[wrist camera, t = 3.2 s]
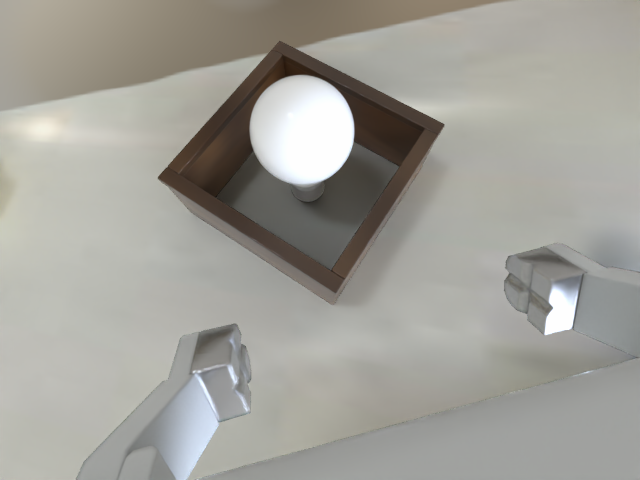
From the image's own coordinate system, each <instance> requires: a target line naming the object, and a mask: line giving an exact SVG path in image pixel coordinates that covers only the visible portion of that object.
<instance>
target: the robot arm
mask: <svg viewBox="0 0 640 480" xmlns="http://www.w3.org/2000/svg"><path fill="white" fill-rule="evenodd" d="M505 268H506V270H507V271H508V272H509V273H510V274H509V275H508V277H507V278H506V279H505V281H504V291H505V294H506V297H507V299H508V301H509V302H510V304H511V305H512V306H513V307H514V308H515V309H516V310H517V311H520V312H523V313H526V314H527V320H528V321H529V322H530V323H531V324H532V325H533V326H535V327H536V328H537V329H538V330H539V331H540V332H541V333H542V334H543V335H547V334H551V333H556V332H560V331H564V330H568V329H573V330H575V331H577V332H579V333H582V334H584V335H586V336H589V337H591V338H593V339H596V340H598V341H600V342H603V343H605V344H607V345H610V346H612V347H614V348H616V349H619V350H621V351H623V352H626V353H628V354H630V355H633V356H635V357H637V358H635V359H632V360H628V361H625V362H621V363H617V364H614V365H610V366H606V367H603V368H599V369H596V370H592V371H588V372H585V373H581V374H577V375H574V376H570V377H566V378H563V379H559V380H555V381H552V382H548V383H544V384H541V385H537V386H533V387H530V388H526V389H522V390H519V391H515V392H511V393H508V394H504V395H500V396H497V397H493V398H490V399H486V400H482V401H479V402H475V403H471V404H468V405H464V406H461V407H457V408H453V409H450V410H446V411H442V412H439V413H435V414H431V415H428V416H424V417H421V418H417V419H413V420H410V421H406V422H402V423H399V424H395V425H392V426H388V427H384V428H381V429H377V430H373V431H370V432H366V433H362V434H359V435H355V436H352V437H348V438H344V439H341V440H337V441H333V442H330V443H326V444H322V445H319V446H315V447H312V448H308V449H304V450H301V451H297V452H293V453H290V454H286V455H282V456H279V457H275V458H272V459H268V460H264V461H261V462H257V463H253V464H250V465H246V466H242V467H239V468H235V469H232V470H228V471H224V472H221V473H217V474H213V475H210V476H206V477H202V478H199V479H195V480H640V272H636V271H631V270H626V269H621V268H616V267H609V268H606V267H604V266H602V265H600V264H599V263H597V262H595V261H593V260H591V259H590V258H588V257H586V256H584V255H582V254H580V253H579V252H577V251H575V250H573V249H571V248H570V247H568V246H566V245H564V244H561V243H554V244H551V245H547V246H543V247H541V248H538V249H534V250H530V251H526V252H522V253H519V254H515V255H511V256H508V258H507V260H506V267H505ZM250 380H251V365H250V359H249V355H248V352H247V349H246V346H244V345H243V344H241V332H240V330H239V328H238V325H237V324H231V325H226V326H222V327H217V328H213V329H209V330H204V331H201V332H196V333H192V334H188V335H183V336H182V337H181V338H180V340H179V344H178V347H177V351H176V354H175V357H174V361H173V364H172V368H171V371H170V374H169V378H168V380H166V381H162V382H161V383H160V384H159V385H158V386H157V387H156V388H155V389H154V390H153V391H152V393H151V394H150V395H149V396H148V397H147V398H146V399H145V400H144V401H143V402H142V403H141V404H140V405H139V406H138V407H137V408H136V409H135V410H134V411H133V412H132V413H131V414H130V415H129V416H128V417H127V418H126V419H125V420H124V421H123V422H122V423H121V424H120V425H119V426H118V427H117V428H116V429H115V430H114V431H113V432H112V433H111V434H110V435H109V436H108V437H107V438H106V439H105V440H104V441H103V442H102V443H101V444H100V446H99V447H98V448H97V449H96V450H95V451H94V452H93V453H92V454H91V455H90V456H89V457H88V458H87V459H86V460H85V461H84V462H83V465H82V467H81V469H80V471H79V473H78V476H77V478H76V480H187V478H188V476H189V475H190V473H191V471H192V470H193V468H194V466H195V465H196V463H197V461H198V459H199V458H200V456H201V454H202V453H203V451H204V449H205V448H206V446H207V444H208V442H209V441H210V439H211V437H212V436H213V434H214V432H215V430H216V429H217V427H218V425H219V422H222V421H225V420H229V419H232V418H236V417H239V416H242V415H246V414H249V413H250V410H251V391H250V388H249V386H248V383H249V382H250Z"/></svg>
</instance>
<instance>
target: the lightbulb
mask: <svg viewBox="0 0 640 480" xmlns="http://www.w3.org/2000/svg"><path fill="white" fill-rule="evenodd" d="M249 133H250V141H251V145H252V148H253V151H254V153H255V155H256V157H257V159H258V160H259V162H260V163H261V165H262V166H263V167H264V168H265V169H266V170H267V171H268V172H269V173H270V174H272V175H273V176H274V177H276V178H278V179H280V180H282V181H284V182H287V183H290V185H291V190H292V193H293V195H294V196H295V197H296V198H297V199H299V200H301V201H306V202H309V201H314V200H316V199H318V198H319V197H320V196H321V195H322V193H323V191H324V180H326V179H328V178H329V177H331V176H332V175H334V174H335V173H336V172H337V171H338V170H339V169H340V168H341V167H342V166H343V164H344V163H345V162H346V160H347V158H348V156H349V154H350V152H351V149H352V146H353V142H354V134H355V128H354V120H353V116H352V112H351V110H350V107H349V105H348V103H347V101H346V100H345V98H344V97H343V95H342V94H341V93H340V92H339V91H338V90H337V89H336V88H335V87H334V86H332V85H331V84H330V83H328V82H326V81H324V80H322V79H320V78H317V77H314V76H309V75H293V76H288V77H285V78H282V79H280V80H278V81H276V82H274V83H273V84H272V85H270V86H269V87H268V88H267V89H266V90H265V91H264V92H263V93H262V94H261V95H260V97H259V98H258V100H257V101H256V103H255V105H254V108H253V110H252V113H251V118H250V125H249Z"/></svg>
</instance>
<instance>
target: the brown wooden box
mask: <svg viewBox="0 0 640 480" xmlns="http://www.w3.org/2000/svg"><path fill="white" fill-rule="evenodd" d="M293 75H309V76H314V77H317V78H320V79H322V80H324V81H326V82H328V83H330V84H331V85H332V86H334V87H335V88H336V89H337V90H338V91H339V92H340V93H341V94H342V95H343V97H344V98H345V100H346V101H347V103H348V105H349V107H350V110H351V112H352V116H353V120H354V128H355V134H354V141H355V142H357V143H358V144H360V145H362V146H364V147H366V148H367V149H369V150H371V151H373V152H375V153H377V154H378V155H380V156H382V157H384V158H386V159H388V160H389V161H391V162H393V163H395V164H397V165H399V166H400V167H399V168H398V170H397V172H396V173H395V175H394V176H393V178H392V179H391V181H390V182H389V184H388V185H387V187H386V188H385V190H384V191H383V193H382V194H381V196H380V197H379V199H378V200H377V202H376V203H375V205H374V206H373V208H372V209H371V211H370V212H369V214H368V215H367V217H366V218H365V220H364V221H363V223H362V224H361V226H360V227H359V229H358V230H357V232H356V233H355V235H354V236H353V238H352V239H351V241H350V242H349V244H348V245H347V247H346V248H345V250H344V251H343V253H342V255H341V256H340V258H339V259H338V261H337V262H336V264H335V265H334V267H333V268H332V270H329V269H327V268H326V267H324V266H323V265H321V264H320V263H318V262H316V261H315V260H313V259H312V258H310V257H309V256H307V255H305V254H304V253H302V252H301V251H299V250H298V249H296V248H294V247H293V246H291V245H290V244H288V243H286V242H285V241H283V240H282V239H280V238H279V237H277V236H275V235H274V234H272V233H271V232H269V231H268V230H266V229H264V228H263V227H261V226H260V225H258V224H257V223H255V222H253V221H252V220H250V219H249V218H247V217H245V216H244V215H242V214H241V213H239V212H238V211H236V210H234V209H233V208H231V207H230V206H228V205H227V204H225V203H223V202H222V201H220V200H219V199H217V198H216V196H217V195H218V193H219V192H220V191H221V190H222V188H223V187H224V186H225V185H226V184H227V182H228V181H229V180H230V179H231V177H232V176H233V175H234V174H235V173H236V171H237V170H238V169H239V168H240V167H241V165H242V164H243V163H244V162H245V160H246V159H247V158H248V157H249V156H250V154H251V153H252V152H253V148H252V145H251V141H250V133H249V125H250V118H251V113H252V110H253V108H254V105H255V103H256V101H257V100H258V98H259V97H260V95H261V94H262V93H263V92H264V91H265V90H266V89H267V88H268V87H269V86H270V85H272V84H273V83H274V82H276V81H278V80H280V79H282V78H285V77H288V76H293ZM443 127H444V124H443V123H441V122H439V121H437V120H435V119H433V118H431V117H429V116H427V115H425V114H423V113H421V112H419V111H417V110H415V109H413V108H411V107H409V106H407V105H405V104H403V103H401V102H399V101H397V100H395V99H394V98H392V97H390V96H388V95H386V94H384V93H382V92H380V91H378V90H376V89H374V88H372V87H370V86H368V85H366V84H364V83H362V82H360V81H358V80H356V79H354V78H352V77H350V76H348V75H346V74H344V73H342V72H340V71H338V70H336V69H334V68H332V67H330V66H328V65H327V64H325V63H323V62H321V61H319V60H317V59H315V58H313V57H311V56H309V55H307V54H305V53H303V52H301V51H299V50H297V49H295V48H293V47H291V46H289V45H287V44H285V43H283V42H281V41H279V42H278V43H277V45H276V46H275V47H274V48H273V50H271V51H270V52H269V53H268V55H267V56H266V57H265V58H264V59H263V60H262V61H261V62H260V64H259V65H258V66H257V67H256V68H255V69H254V70H253V71H252V73H251V74H250V75H249V76H248V77H247V78H246V79H245V80H244V81H243V83H242V84H241V85H240V86H239V87H238V88H237V89H236V90H235V92H234V93H233V94H232V95H231V96H230V97H229V98H228V99H227V100H226V102H225V103H224V104H223V105H222V106H221V107H220V108H219V109H218V111H217V112H216V113H215V114H214V115H213V116H212V117H211V118H210V119H209V121H208V122H207V123H206V124H205V125H204V126H203V127H202V128H201V130H200V131H199V132H198V133H197V134H196V135H195V136H194V137H193V139H192V140H191V141H190V142H189V143H188V144H187V145H186V146H185V147H184V149H183V150H182V151H181V152H180V153H179V154H178V155H177V156H176V158H175V159H174V160H173V161H172V162H171V163H170V164H169V165H168V167H167V168H166V169H165V170H164V171H163V172H162V173H161V174H160V175H159V177H158V179H159V180H160V181H161V182H162V183H163V184H165V185H166V186H168V187H169V188H170V190H171V191H172V192H173V193H174V194H175V195H176V196H177V197H178V198H179V199H180V201H181V202H182V203H183V204H184V205H185V206H186V207H187V208H188V209H189V210H190V211H191V213H193V214H194V215H196V216H197V217H199V218H200V219H202V220H203V221H205V222H207V223H208V224H210V225H211V226H213V227H214V228H216V229H217V230H219V231H220V232H222V233H223V234H225V235H226V236H228V237H229V238H231V239H232V240H234V241H236V242H237V243H239V244H240V245H242V246H243V247H245V248H246V249H248V250H249V251H251V252H252V253H254V254H255V255H257V256H258V257H260V258H261V259H263V260H265V261H266V262H268V263H269V264H271V265H272V266H274V267H275V268H277V269H278V270H280V271H281V272H283V273H284V274H286V275H287V276H289V277H291V278H292V279H294V280H295V281H297V282H298V283H300V284H301V285H303V286H304V287H306V288H307V289H309V290H310V291H312V292H313V293H315V294H316V295H318V296H320V297H321V298H323V299H324V300H326V301H327V302H329V303H330V304H332V305H334V303H335V302H336V300H337V299H338V297H339V296H340V294H341V292H342V291H343V289H344V288H345V286H346V285H347V283H348V282H349V280H350V278H351V277H352V275H353V274H354V272H355V271H356V269H357V268H358V266H359V264H360V263H361V261H362V260H363V258H364V257H365V255H366V253H367V252H368V250H369V249H370V247H371V246H372V244H373V243H374V241H375V239H376V238H377V236H378V235H379V233H380V232H381V230H382V228H383V227H384V225H385V224H386V222H387V221H388V219H389V218H390V216H391V214H392V213H393V211H394V210H395V208H396V207H397V205H398V203H399V202H400V200H401V199H402V197H403V196H404V194H405V193H406V191H407V189H408V188H409V186H410V185H411V183H412V182H413V180H414V179H415V177H416V175H417V174H418V172H419V171H420V169H421V167H422V165H423V163H424V161H425V159H426V157H427V155H428V153H429V151H430V149H431V148H432V146H433V144H434V142H435V140H436V139H437V137H438V136H439V134H440V133H441V131H442V129H443Z"/></svg>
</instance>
